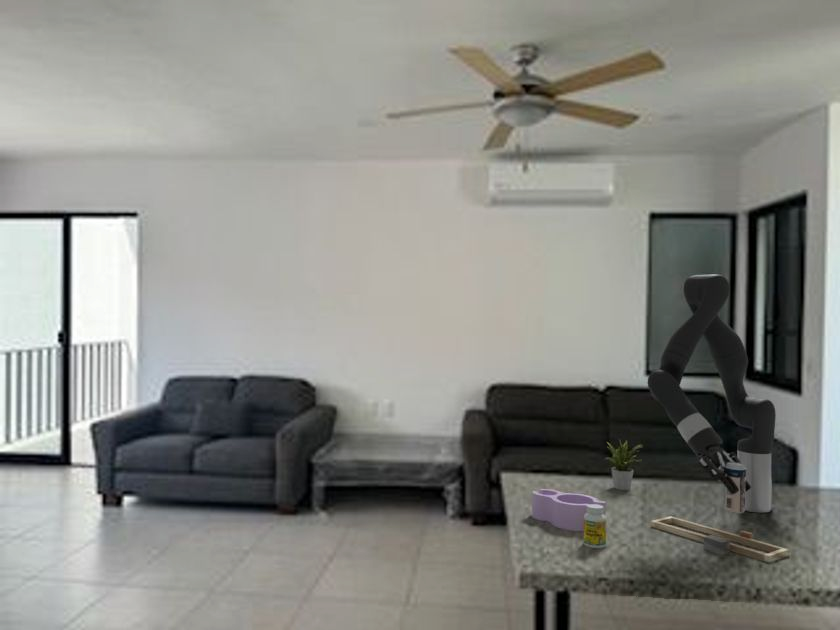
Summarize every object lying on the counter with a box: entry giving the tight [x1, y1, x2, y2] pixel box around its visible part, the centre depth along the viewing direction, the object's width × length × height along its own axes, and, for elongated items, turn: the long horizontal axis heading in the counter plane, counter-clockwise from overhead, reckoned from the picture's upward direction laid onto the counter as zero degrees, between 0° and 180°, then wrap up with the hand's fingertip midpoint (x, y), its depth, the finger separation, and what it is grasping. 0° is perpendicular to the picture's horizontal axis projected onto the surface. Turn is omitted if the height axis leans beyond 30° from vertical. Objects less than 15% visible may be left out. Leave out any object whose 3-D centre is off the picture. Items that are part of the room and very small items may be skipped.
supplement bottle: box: [583, 504, 607, 549], centre depth 169 cm, size 5×5×10 cm
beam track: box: [650, 515, 790, 563], centre depth 174 cm, size 15×32×3 cm, turn 35°
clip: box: [531, 488, 607, 532], centre depth 188 cm, size 20×12×7 cm, turn 44°
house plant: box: [604, 438, 642, 491], centre depth 228 cm, size 14×14×16 cm
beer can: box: [723, 462, 746, 515], centre depth 171 cm, size 5×5×12 cm
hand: (741, 490), depth 169 cm, fingers closed on beer can, 4 cm apart
